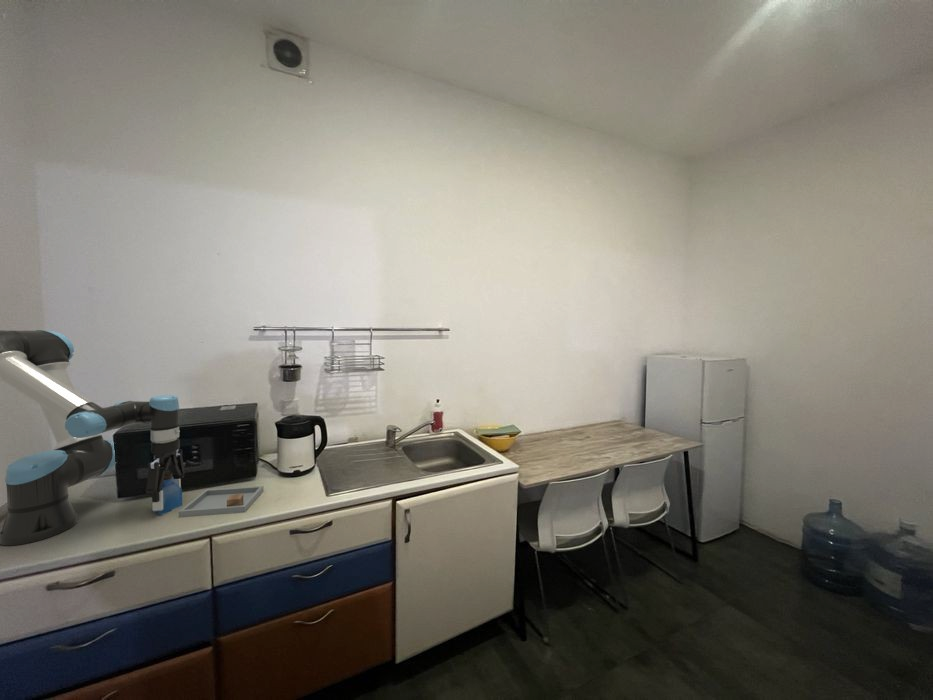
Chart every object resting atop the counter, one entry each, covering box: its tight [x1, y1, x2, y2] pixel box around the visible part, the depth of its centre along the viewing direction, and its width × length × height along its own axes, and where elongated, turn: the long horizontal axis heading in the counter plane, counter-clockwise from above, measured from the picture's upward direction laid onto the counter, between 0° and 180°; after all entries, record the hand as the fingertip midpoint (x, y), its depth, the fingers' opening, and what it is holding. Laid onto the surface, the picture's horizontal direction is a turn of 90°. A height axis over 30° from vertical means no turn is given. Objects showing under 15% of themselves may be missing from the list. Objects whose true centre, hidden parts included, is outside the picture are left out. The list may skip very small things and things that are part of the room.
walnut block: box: [227, 494, 243, 507], centre depth 119 cm, size 4×4×4 cm
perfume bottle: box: [151, 472, 183, 516], centre depth 119 cm, size 6×6×12 cm
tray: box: [178, 485, 264, 518], centre depth 123 cm, size 20×16×2 cm
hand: (167, 503), depth 119 cm, fingers closed on perfume bottle, 9 cm apart
